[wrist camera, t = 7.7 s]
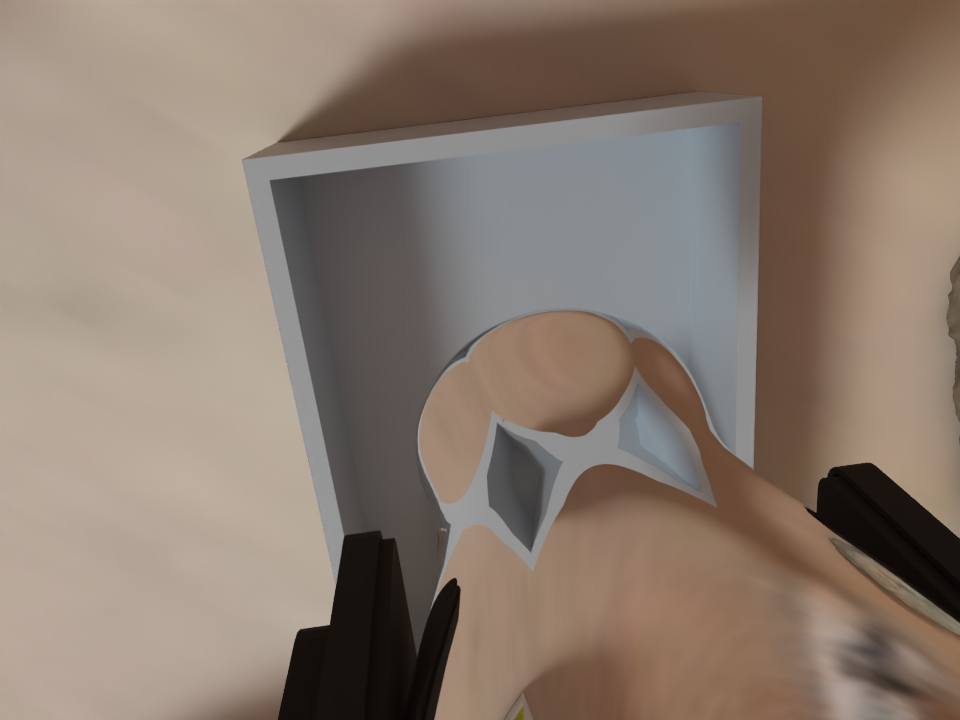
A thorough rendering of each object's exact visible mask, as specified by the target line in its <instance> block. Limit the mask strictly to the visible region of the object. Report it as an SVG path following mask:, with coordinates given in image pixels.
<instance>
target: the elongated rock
mask: <svg viewBox="0 0 960 720" xmlns="http://www.w3.org/2000/svg"><path fill="white" fill-rule="evenodd" d="M950 279H951V282H952V291H951V292H950V294H949V295H948V299H949V303H950V304H949V309H948V313H947V323H948V326H949V333H948V335H949V336H950V337H951V338H953V339H954V340H955V344H956V350H957V352H956V356H957V359H956V366H955V384H954V386H953V400H954V403H955V408H956V416H957V417H958V420H959V421H960V258H959V259H958V261H957V262H956V264H955V265H954V267H953V269H952V270H951V272H950ZM959 443H960V438H959Z"/></svg>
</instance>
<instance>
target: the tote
mask: <svg viewBox="0 0 960 720" xmlns="http://www.w3.org/2000/svg"><path fill="white" fill-rule="evenodd" d="M762 103H763V96H751V95H738V94H725V93H712V92H700V91H699V92H690V93H682V94H674V95H666V96H657V97H649V98H641V99H633V100H625V101H616V102H608V103H600V104H592V105H583V106H575V107H567V108H559V109H551V110H542V111H534V112H526V113H518V114H510V115H501V116H493V117H485V118H477V119H468V120H460V121H452V122H444V123H436V124H427V125H419V126H411V127H403V128H394V129H386V130H378V131H370V132H362V133H353V134H345V135H337V136H329V137H320V138H312V139H304V140H296V141H288V142H279V143H275V144H273V145H271V146H269V147H267V148H265V149H263V150H261V151H259V152H257V153H255V154H253V155H251V156H249V157H247V158H245V159H243V160H242V163H243V167H244V172H245V177H246V181H247V186H248V190H249V195H250V199H251V204H252V208H253V213H254V217H255V222H256V226H257V231H258V235H259V240H260V244H261V249H262V253H263V258H264V263H265V267H266V272H267V276H268V281H269V285H270V290H271V294H272V299H273V303H274V308H275V312H276V317H277V321H278V326H279V330H280V335H281V339H282V344H283V349H284V353H285V358H286V362H287V367H288V371H289V376H290V380H291V385H292V389H293V394H294V398H295V403H296V407H297V412H298V416H299V421H300V425H301V430H302V435H303V439H304V444H305V448H306V453H307V457H308V462H309V466H310V471H311V475H312V480H313V484H314V489H315V493H316V498H317V502H318V507H319V511H320V516H321V521H322V525H323V530H324V534H325V539H326V543H327V548H328V552H329V557H330V561H331V566H332V570H333V575H334V579H335V584H336V583H337V576H338V570H339V564H340V557H341V551H342V545H343V539H344V536H345V535H349V534H356V533H363V532H370V531H378V530H380V531H381V533H382V536H383V539H389V538H395V540H396V544H397V549H398V554H399V560H400V565H401V571H402V576H403V582H404V587H405V593H406V598H407V604H408V609H409V615H410V621H411V626H412V632H413V637H414V643H415V648H416V654H417V655H418V651H419V647H420V643H421V639H422V635H423V631H424V627H425V623H426V619H427V615H428V611H429V607H430V603H431V598H432V593H433V588H434V583H435V578H436V574H437V569H438V564H439V563H438V534H437V528H436V525H435V523H434V520H433V518H432V515H431V512H430V510H429V507H428V505H427V502H426V499H425V496H424V493H423V490H422V487H421V483H420V479H419V474H418V470H417V464H416V455H415V437H416V429H417V423H418V419H419V415H420V412H421V409H422V406H423V404H424V401H425V399H426V397H427V394H428V392H429V390H430V388H431V386H432V385H433V383H434V381H435V379H436V378H437V376H438V375H439V373H440V372H441V371H442V369H443V368H444V367H445V365H446V364H447V363H448V362H449V361H450V359H451V358H452V357H453V356H454V355H455V354H456V353H457V352H458V351H459V350H460V349H461V348H462V347H463V346H465V345H466V344H467V343H468V342H469V341H471V340H472V339H473V338H475V337H476V336H477V335H479V334H480V333H482V332H484V331H485V330H487V329H489V328H490V327H492V326H494V325H496V324H498V323H500V322H502V321H504V320H507V319H509V318H512V317H514V316H517V315H520V314H523V313H527V312H531V311H535V310H540V309H546V308H554V307H584V308H592V309H598V310H603V311H607V312H611V313H614V314H617V315H620V316H623V317H625V318H628V319H630V320H633V321H635V322H637V323H639V324H641V325H642V326H644V327H646V328H647V329H649V330H651V331H652V332H653V333H655V334H656V335H658V336H659V337H660V338H661V339H663V340H664V341H665V342H666V343H667V344H668V345H669V346H670V347H671V348H672V349H673V350H674V351H675V352H676V353H677V355H678V356H679V357H680V358H681V360H682V361H683V362H684V364H685V365H686V366H687V368H688V370H689V371H690V373H691V374H692V376H693V378H694V380H695V382H696V384H697V386H698V388H699V390H700V392H701V395H702V397H703V399H704V402H705V404H706V407H707V410H708V412H709V415H710V418H711V420H712V423H713V426H714V428H715V430H716V432H717V434H718V436H719V438H720V439H721V440H722V442H723V443H724V444H725V445H726V446H727V447H728V448H729V449H730V450H731V451H732V452H733V453H734V454H735V455H736V456H737V457H738V458H739V459H740V460H742V461H743V462H744V463H746V464H747V465H748V466H750V467H751V468H752V469H754V428H755V388H756V347H757V306H758V266H759V225H760V185H761V144H762Z"/></svg>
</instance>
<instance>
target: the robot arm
mask: <svg viewBox="0 0 960 720" xmlns="http://www.w3.org/2000/svg"><path fill="white" fill-rule="evenodd" d="M816 513H817V514H818V515H820V516H821V517H823V518H824V519H826V520H827V521H828V522H830V523H831V524H833V525H834V526H835V527H837V528H838V529H840V530H841V531H843V532H844V533H845V534H847V535H848V536H850V537H851V538H852V539H854V540H855V541H857V542H858V543H860V544H861V545H862V546H864V547H865V548H867V549H868V550H869V551H871V552H872V553H874V554H875V555H877V556H878V557H879V558H881V559H882V560H884V561H885V562H886V563H888V564H889V565H891V566H892V567H893V568H895V569H896V570H898V571H899V572H901V573H902V574H903V575H905V576H906V577H908V578H909V579H910V580H912V581H913V582H914V583H916V584H917V585H918V586H919V587H921V588H922V589H923V590H924V591H926V592H927V593H928V594H929V595H931V596H932V597H933V598H935V599H936V600H937V601H938V602H940V603H941V604H942V605H943V606H945V607H946V608H947V609H948V610H950V611H951V612H952V613H954V614H955V615H956V616H957V617H959V618H960V538H958V537H957V536H956V535H955V534H954V533H953V532H951V531H950V530H949V529H948V528H947V527H946V526H945V525H943V524H942V523H941V522H940V521H939V520H938V519H936V518H935V517H934V516H933V515H932V514H931V513H930V512H928V511H927V510H926V509H925V508H924V507H923V506H921V505H920V504H919V503H918V502H917V501H916V500H915V499H913V498H912V497H911V496H910V495H909V494H908V493H906V492H905V491H904V490H903V489H902V488H901V487H900V486H898V485H897V484H896V483H895V482H894V481H893V480H891V479H890V478H889V477H888V476H887V475H886V474H885V473H883V472H882V471H881V470H880V469H879V468H878V467H876V466H875V465H873V464H872V463H861V464H854V465H846V466H839V467H833V468H832V469H830V471H829V473H828V477H827V478H822V479H821V480H820V482H819V485H818V496H817V512H816ZM416 659H417V654H416V648H415V643H414V637H413V632H412V626H411V621H410V615H409V609H408V604H407V598H406V593H405V587H404V582H403V576H402V571H401V565H400V560H399V554H398V549H397V544H396V540H395V538H389V539H383V536H382V533H381V531H380V530H378V531H370V532H363V533H356V534H349V535H345V536H344V539H343V545H342V551H341V557H340V564H339V570H338V576H337V583H336V589H335V595H334V602H333V608H332V614H331V621H330V625H327V626H320V627H313V628H306V629H300V630H299V631H298V633H297V635H296V638H295V642H294V647H293V651H292V656H291V661H290V665H289V670H288V675H287V679H286V684H285V689H284V693H283V698H282V702H281V707H280V712H279V716H278V720H403V716H404V711H405V707H406V703H407V698H408V694H409V690H410V685H411V681H412V677H413V672H414V668H415V664H416Z"/></svg>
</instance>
